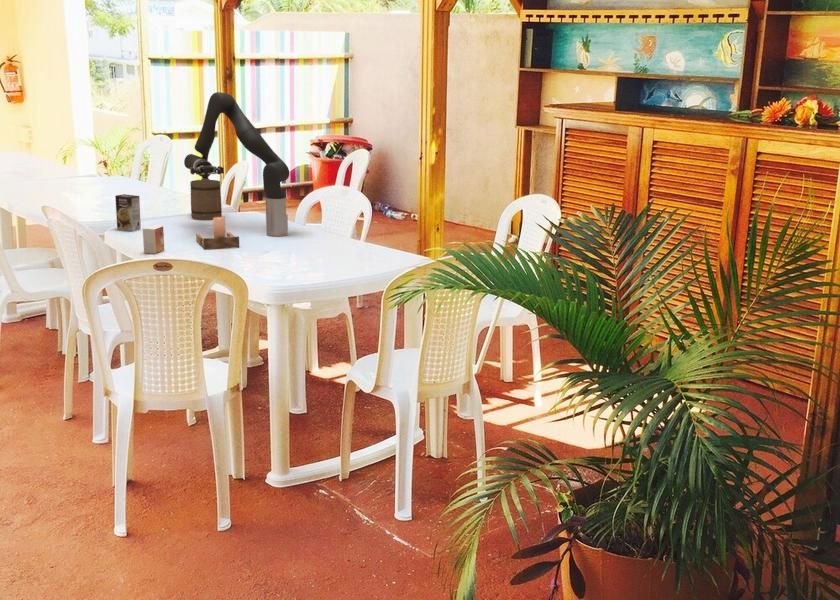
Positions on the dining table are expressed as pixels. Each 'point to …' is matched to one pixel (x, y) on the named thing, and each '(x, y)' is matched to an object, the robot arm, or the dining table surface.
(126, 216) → the coffee box
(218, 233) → the salmon orange cylinder
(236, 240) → the keyhole track
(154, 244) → the small box
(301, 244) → the dining table surface
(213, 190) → the wooden container
